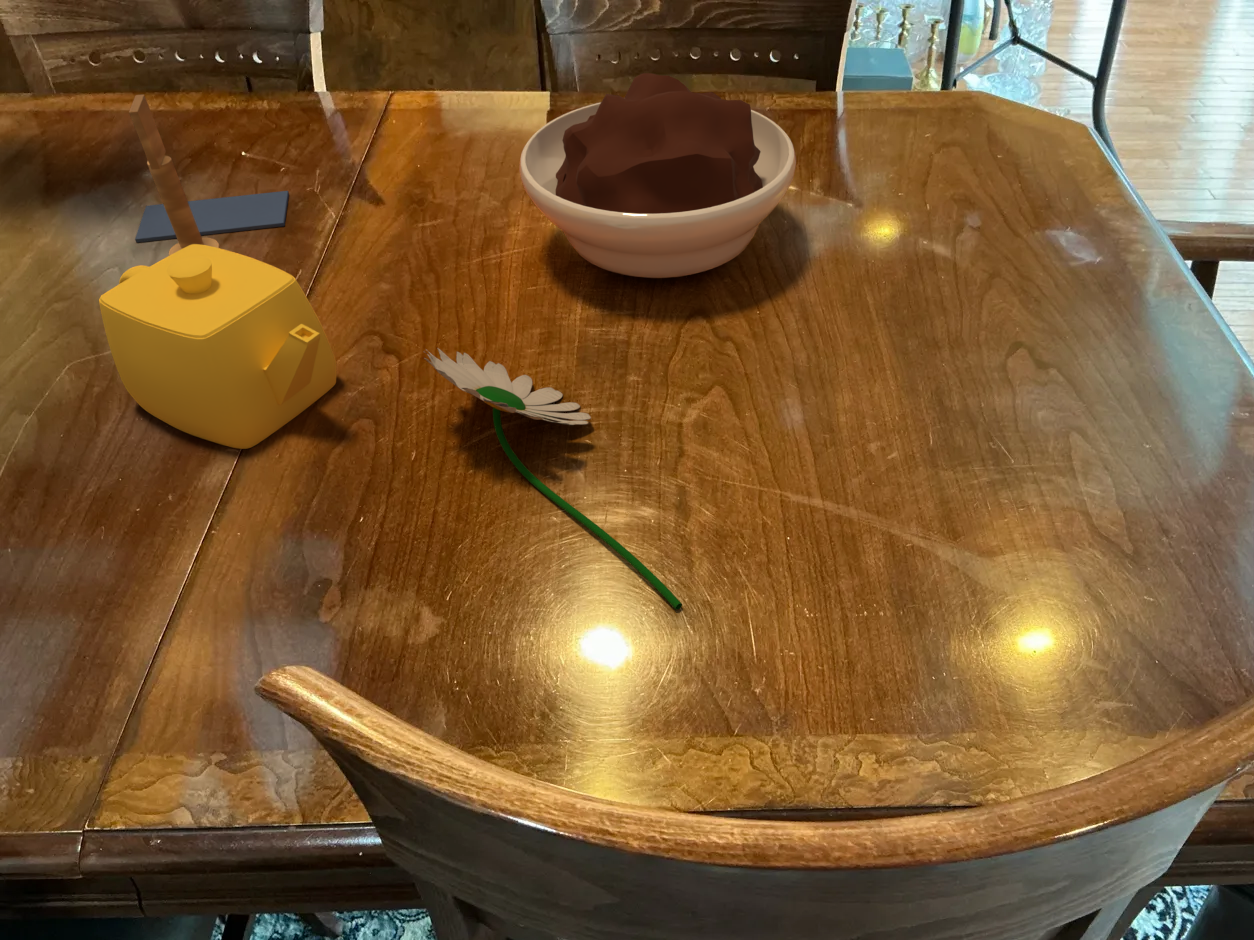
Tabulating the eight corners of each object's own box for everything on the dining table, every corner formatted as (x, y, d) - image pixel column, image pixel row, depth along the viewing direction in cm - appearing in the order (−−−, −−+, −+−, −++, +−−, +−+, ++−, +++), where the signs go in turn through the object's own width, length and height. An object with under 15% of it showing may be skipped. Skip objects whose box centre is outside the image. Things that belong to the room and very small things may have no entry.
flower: (630, 577, 64) (399, 311, 78) (591, 644, 66) (373, 373, 81) (764, 569, 74) (537, 335, 89) (726, 628, 76) (510, 390, 91)
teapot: (394, 391, 87) (358, 261, 79) (282, 480, 80) (230, 346, 71) (218, 326, 94) (169, 201, 86) (100, 402, 87) (33, 272, 78)
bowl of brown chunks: (542, 332, 93) (518, 165, 83) (523, 198, 111) (501, 46, 100) (821, 299, 97) (832, 135, 86) (760, 174, 114) (763, 25, 103)
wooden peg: (175, 288, 99) (103, 116, 88) (181, 263, 102) (113, 95, 91) (225, 282, 100) (160, 111, 88) (229, 258, 103) (167, 90, 91)
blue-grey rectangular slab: (136, 242, 105) (134, 239, 105) (147, 209, 110) (145, 205, 110) (284, 226, 107) (283, 222, 107) (289, 194, 112) (288, 190, 112)
